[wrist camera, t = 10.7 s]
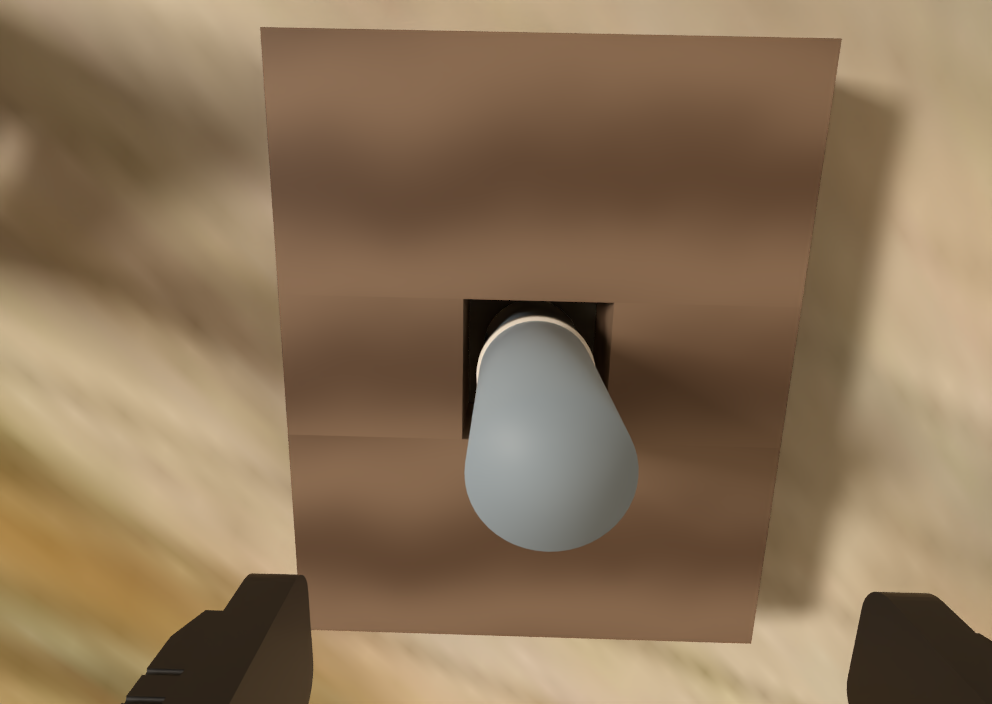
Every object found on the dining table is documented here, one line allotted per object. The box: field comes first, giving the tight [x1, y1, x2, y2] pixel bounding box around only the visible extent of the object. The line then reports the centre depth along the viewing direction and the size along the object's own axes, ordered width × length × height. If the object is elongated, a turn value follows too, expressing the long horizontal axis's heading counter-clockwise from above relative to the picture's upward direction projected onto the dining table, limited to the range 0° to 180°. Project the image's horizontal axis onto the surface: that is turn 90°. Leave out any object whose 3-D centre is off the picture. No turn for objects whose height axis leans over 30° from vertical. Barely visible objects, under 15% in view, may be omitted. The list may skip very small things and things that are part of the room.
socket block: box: [260, 27, 842, 644], centre depth 24 cm, size 22×18×4 cm
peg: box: [464, 300, 639, 552], centre depth 20 cm, size 4×4×12 cm
